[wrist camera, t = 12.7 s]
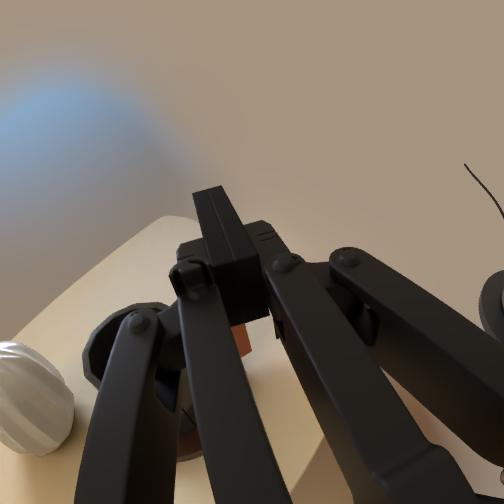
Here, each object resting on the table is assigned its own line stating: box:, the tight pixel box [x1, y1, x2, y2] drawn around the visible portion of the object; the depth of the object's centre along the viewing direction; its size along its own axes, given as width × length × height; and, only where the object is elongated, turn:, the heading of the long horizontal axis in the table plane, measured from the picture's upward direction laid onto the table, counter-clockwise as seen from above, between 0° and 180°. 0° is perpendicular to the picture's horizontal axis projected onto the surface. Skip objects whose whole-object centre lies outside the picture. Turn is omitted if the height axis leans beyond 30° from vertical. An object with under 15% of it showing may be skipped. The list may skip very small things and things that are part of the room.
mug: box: [82, 302, 252, 436], centre depth 28 cm, size 12×15×10 cm
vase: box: [0, 340, 74, 457], centre depth 24 cm, size 14×14×13 cm
